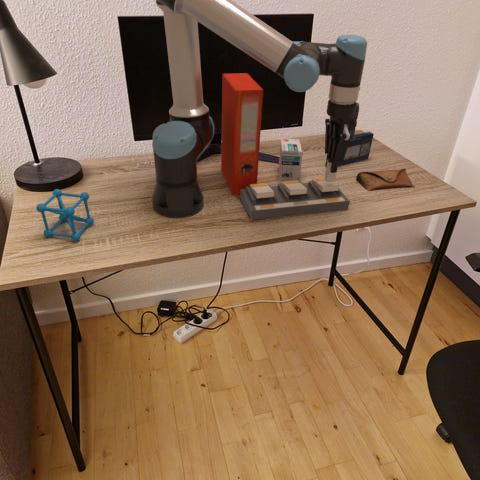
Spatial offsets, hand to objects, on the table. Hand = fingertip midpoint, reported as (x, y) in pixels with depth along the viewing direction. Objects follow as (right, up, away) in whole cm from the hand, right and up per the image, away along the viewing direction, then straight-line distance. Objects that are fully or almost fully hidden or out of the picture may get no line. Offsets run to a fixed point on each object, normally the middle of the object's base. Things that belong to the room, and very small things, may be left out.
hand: (329, 180), depth 127 cm
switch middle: (-10, -2, +1) cm, 11 cm away
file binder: (-27, +1, +14) cm, 31 cm away
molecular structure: (-72, -15, -11) cm, 74 cm away
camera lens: (+14, +22, +45) cm, 52 cm away
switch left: (-20, -3, -1) cm, 20 cm away
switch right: (-1, -1, +3) cm, 4 cm away
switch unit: (-10, -7, +4) cm, 13 cm away
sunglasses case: (+22, +1, +17) cm, 27 cm away
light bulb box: (-10, +5, +20) cm, 23 cm away
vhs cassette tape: (+12, +10, +29) cm, 33 cm away
